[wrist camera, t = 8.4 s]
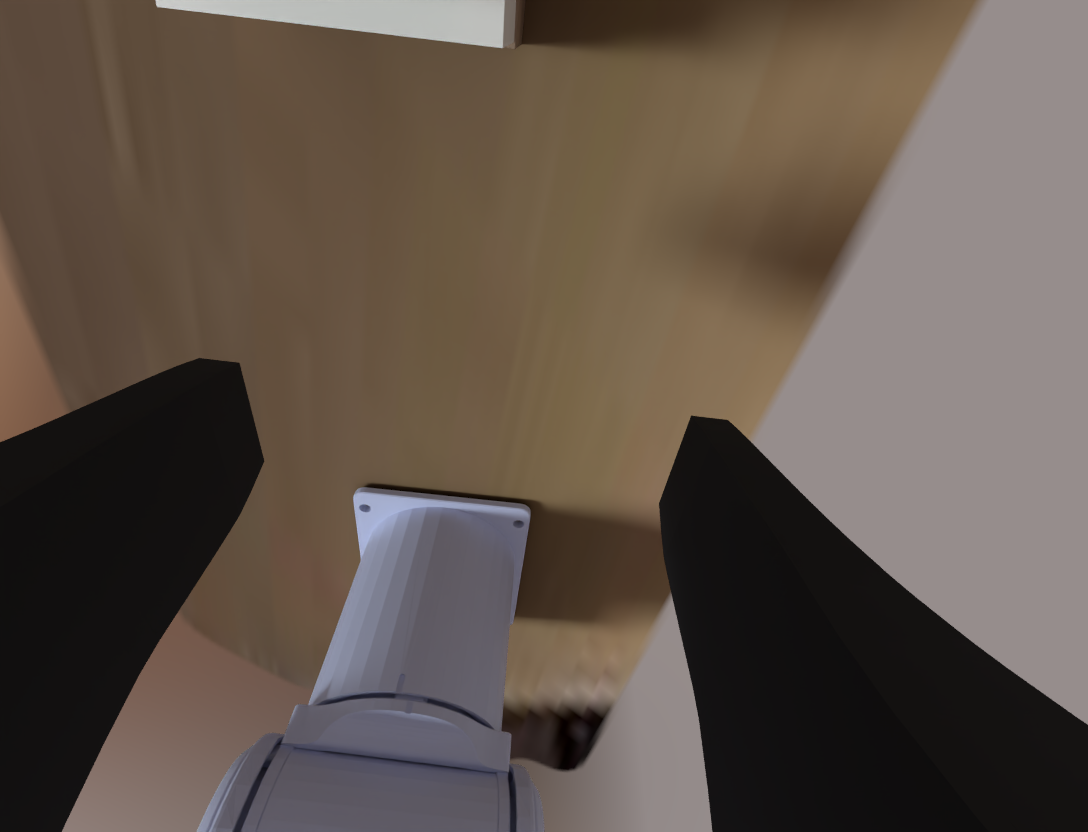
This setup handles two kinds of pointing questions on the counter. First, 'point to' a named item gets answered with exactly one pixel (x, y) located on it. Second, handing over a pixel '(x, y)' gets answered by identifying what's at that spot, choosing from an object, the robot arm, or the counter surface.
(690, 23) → the counter surface
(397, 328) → the counter surface
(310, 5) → the top slab
